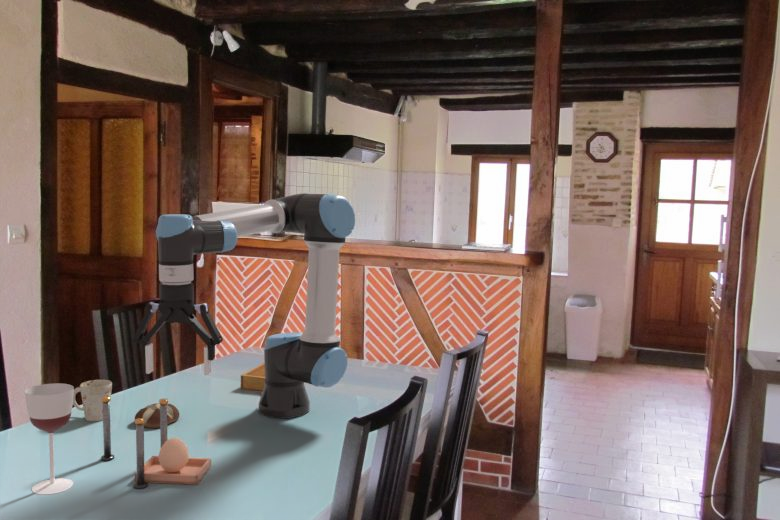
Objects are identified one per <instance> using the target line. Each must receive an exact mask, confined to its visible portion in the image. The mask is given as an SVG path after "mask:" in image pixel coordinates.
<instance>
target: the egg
mask: <svg viewBox="0 0 780 520" xmlns="http://www.w3.org/2000/svg"><path fill="white" fill-rule="evenodd" d="M189 455H190V453H189V449H188V446H187V445H186V443H185V442H184V441H183V440H181V439H180V438H177V437H172V438H169V439H167V441H166V442H165V443H164V444H163V446H162V447H161V446H160V450H159V452H158V456H159V462H160V465H161V467H162V468H163V469H164V470H166V471H168V472H172V473H174V472H178V471H180V470H181V469H183V468H184V467H185V465H186V464H187V462H188V459H189V458H190V457H189Z"/></svg>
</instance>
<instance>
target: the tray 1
mask: <svg viewBox="0 0 780 520" xmlns="http://www.w3.org/2000/svg"><path fill="white" fill-rule="evenodd" d="M211 467H212V458H210V457H209V458H207V457H189V459H188V462H187V464H186V465H185V467H184V468H183V469H181V470H180V471H178V472H174V473H172V472H168V471H166V470H164V469H163V468H162V467H161V465H160V462H159V455H152V456H151V457H150V458H149V459H147V461H146V462H144V476H145V481H146V482H148V484H149V483H150V484H168V485H169V484H171V485H188V486H189V485H190V486H191V485H193V486H197V485H198V484H199V483H200V482H201V481H202V480H203V478H204V477H205V476H206V474H207V473H208V471H210V469H211ZM136 482H137V471H136V472H135V473H134V483H136Z"/></svg>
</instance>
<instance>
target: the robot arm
mask: <svg viewBox="0 0 780 520" xmlns="http://www.w3.org/2000/svg"><path fill="white" fill-rule="evenodd" d="M355 226H356V214H355V211H354V208H353V205H352V204H351V203H350V201H349V200H348V199H347V198H346V197H344V196H342V195H338V194H331V193H326V194H325V193H306V192H304V193H296V194H291V195H288V196H282V197H279V198H277V197H276V198H274V199H268V200H267V201H265V202H264V203H263V204H258V205H253V206H248V207H242V208H235V209H229V210H222V211H217V212H210V213H204V214H198V215H194V216H192V215H190V214H186V213H185V214H183V213H182V214H181V213H180V214H179V213H178V214H175V213H174V214H173V213H172V214H169V213H168V214H162V215H160V216H159V217H158V221H157V226H156V228H155V229H156V230H155V237H156V240H157V245H158V247H157V248H158V280H159V282H161V283H159V287H158V288H159V303H155V301H150V302H148V303H145V310H144V315H142V316H143V317H142V319H141V320H140V323H139V325H138V327H137V329H136V332H135V333H134V335H133V338H132V342H133V343H137V344H140V348H141V350H140V351H141V358H142V359H143V360H144V359H145V374H148V375H150V374H151V373H152V372H154V370H155V369H154V367H155V366H154V343H152V342H151V340H152V339H153V338H154V337H155V336H156V335H157V333H158V332H159V331H160V330H161V328H162V327H163V326H164V325H165V324H166V323H169V324H175V323H178V324H184V323H186V324H187V326H190V328H192V330H193V331H194V332H195V333H196V334H197V335H198V336H199V338H200V339H201V340H202V342H203V343H204V344H205V346H204V347H203V363H204V364H203V365H204V366H203V373H204V376H208V375H210V374H211V372H212V361H214V359H215V357H216V352H215V351H216V350H215V349H216V347H215V346H217V345H219V344H221V343H222V342H223V340H224V338H223V336H222V334H221V333H220V330H219V329H218V327H217V325H216V322H215V321H214V319H213V317H212V314H211V313H210V308H209V304H208V303H207V302H203V303H201V304H199V303H198V304H196V303H195V290H194V289H195V288H194V287H195V286H194V285H195V284H194V283H193V282H192V281H194V278H195V277H194V256H195V255H203V254H204V255H205V254H216V253H220V254H221V253H225V252H229V251H231V250H233V249H235V247H236V246H237V244H238V243H237V242H238V238H242V237H245V236H250V235H257V234H260V233H267V232H269V233H272V234H279V233H293V234H294V233H295V234H302V235H303V242H304V243H305V245H306V246H307V248H308V262H307V280H306V282H307V283H306V302H305V303H306V304H305V318H304V319H305V321H304V322H305V323H304V332H283V333H277V334H276V333H275V334H272V335H269V336H267V337H266V339H265V341H264V350H263V353H264V354H263V355H264V362H265V386H264V389H263V392H261V395H260V398H259V401H258V413H259V414H260V415H262V416H265V417H269V418H277V419H280V418H281V419H285V418H286V419H288V418H296V417H301V416H303V415H305V414H308V412H309V411H310V410H311V404H310V403H311V401H310V399H309V395H308V393H307V390H306V386H305V383H306V384H309V385H312V386H314V387H319V388H320V387H321V388H332V387H333V386H335V385H337V384H339V382H340V380H341V379H342V378H343V377H344V375H345V373H346V372H347V368H348V354H347V353H346V351H345V350H344V349H343V348H341V346H340V345H341V338H340V337H339V335H338V334H337V333H336V325H337V324H336V322H337V303H338V302H337V301H338V283H339V266H340V265H339V263H340V250H341V248H342V247H344V245H345V244H346V239H347V237H348V236H350V235H351V234H352V232H353V230H354V229H355ZM157 310H158V312H160V314H161V316H160V318H158V320H157V321H156V323H155V324H154V325H153V326H152V328H151V329H150V330H149V331H148V332H147V333H146V334H145V332H146V330H147V329H148V327H149V324H150V322H151V320H152V318H153V316H154V314H155V313H156V312H157ZM196 311H197V312H198V314H200V316H201V319H202V321H203V322H204V325H205V327H206V328H207V329H205V327H204V326H203V325H202V324H201V323H200V321H199V319H198V318H197V317H196V315H194V313H195V312H196ZM144 334H145V336H144Z"/></svg>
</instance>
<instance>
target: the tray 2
mask: <svg viewBox="0 0 780 520" xmlns="http://www.w3.org/2000/svg"><path fill="white" fill-rule="evenodd" d="M264 386H265V361H263V362H262V363H260V364H258V365H256V366H255V367H252V368H250V369H249V370H247V371H246V372H244V373H242V374H241V375H240V389H241V390H243V391H249V392H258V393H259V392H260V393H262V392H263V389H264Z"/></svg>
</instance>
